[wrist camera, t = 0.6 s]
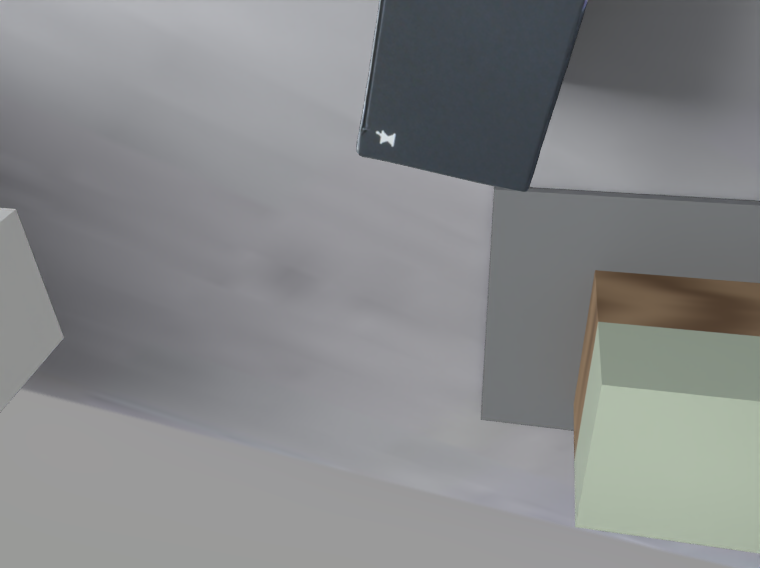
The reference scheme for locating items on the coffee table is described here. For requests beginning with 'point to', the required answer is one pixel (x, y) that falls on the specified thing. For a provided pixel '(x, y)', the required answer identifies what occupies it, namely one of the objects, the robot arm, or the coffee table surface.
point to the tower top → (671, 437)
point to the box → (467, 85)
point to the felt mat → (588, 280)
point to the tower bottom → (665, 311)
